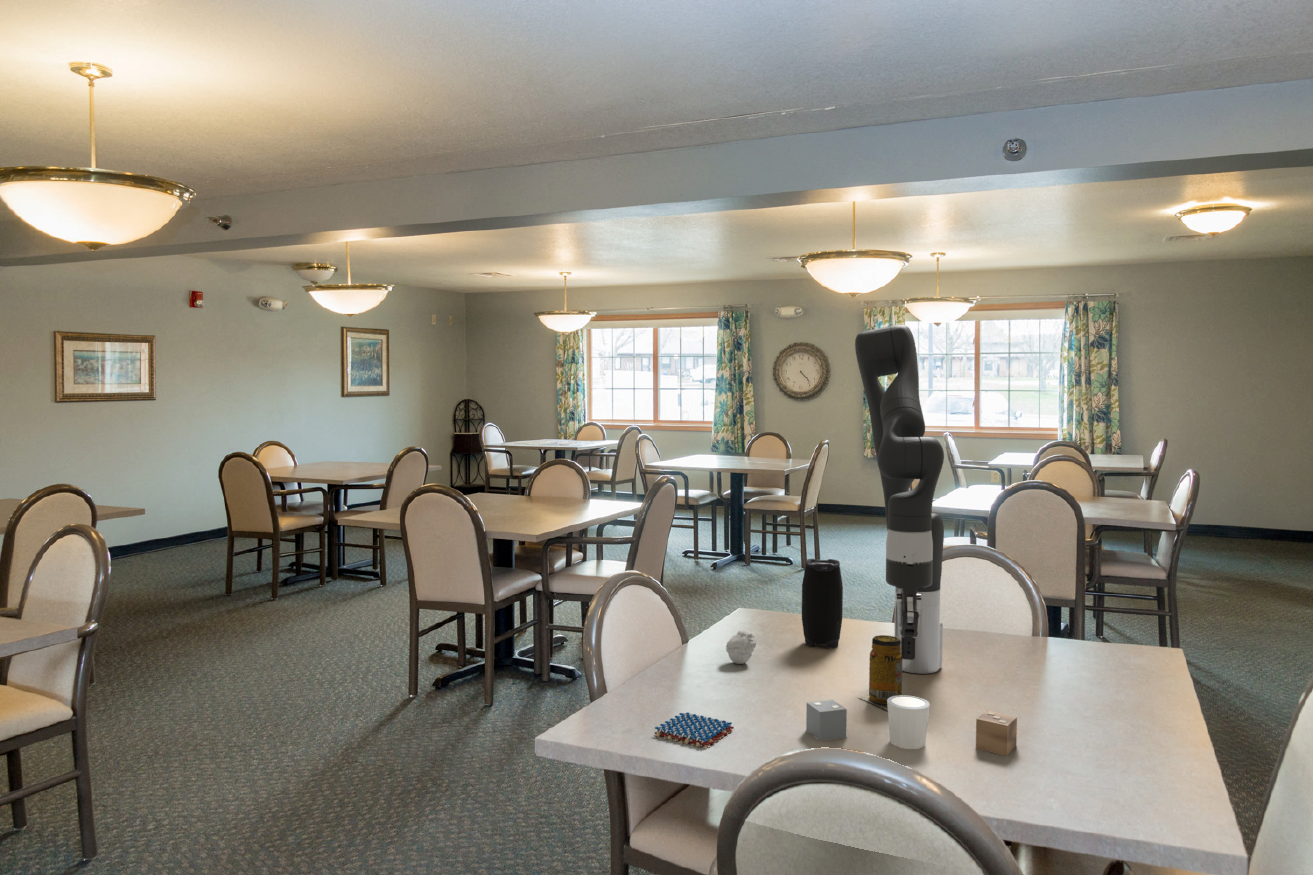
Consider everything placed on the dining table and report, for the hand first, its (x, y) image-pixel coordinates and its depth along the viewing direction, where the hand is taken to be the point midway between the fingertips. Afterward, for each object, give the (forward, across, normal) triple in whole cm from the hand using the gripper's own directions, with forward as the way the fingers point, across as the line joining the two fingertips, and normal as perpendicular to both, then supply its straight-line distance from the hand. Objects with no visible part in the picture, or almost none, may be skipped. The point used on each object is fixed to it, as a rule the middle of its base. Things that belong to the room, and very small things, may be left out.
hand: (907, 658), depth 151 cm
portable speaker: (+15, -55, -16) cm, 59 cm away
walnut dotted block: (+14, 0, +14) cm, 20 cm away
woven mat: (+14, +6, -35) cm, 39 cm away
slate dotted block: (+14, +1, -13) cm, 19 cm away
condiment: (+14, -18, -3) cm, 23 cm away
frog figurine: (+14, -36, -33) cm, 51 cm away
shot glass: (+14, +2, 0) cm, 14 cm away
